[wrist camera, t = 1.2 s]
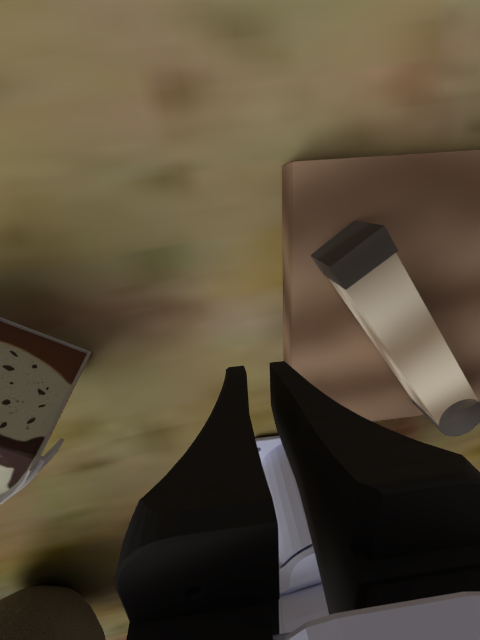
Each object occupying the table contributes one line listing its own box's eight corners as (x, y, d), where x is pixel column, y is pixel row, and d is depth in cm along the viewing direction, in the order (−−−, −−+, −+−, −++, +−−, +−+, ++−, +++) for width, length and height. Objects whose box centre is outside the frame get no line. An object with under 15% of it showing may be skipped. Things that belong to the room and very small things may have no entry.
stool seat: (518, 382, 27) (580, 419, 23) (284, 410, 26) (300, 456, 21) (606, 144, 20) (724, 129, 15) (282, 166, 18) (306, 156, 14)
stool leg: (455, 391, 23) (491, 419, 20) (420, 413, 24) (449, 444, 21) (354, 220, 17) (384, 225, 14) (310, 255, 18) (330, 267, 15)
